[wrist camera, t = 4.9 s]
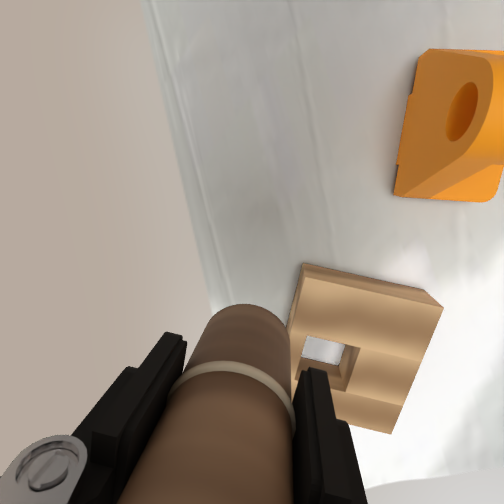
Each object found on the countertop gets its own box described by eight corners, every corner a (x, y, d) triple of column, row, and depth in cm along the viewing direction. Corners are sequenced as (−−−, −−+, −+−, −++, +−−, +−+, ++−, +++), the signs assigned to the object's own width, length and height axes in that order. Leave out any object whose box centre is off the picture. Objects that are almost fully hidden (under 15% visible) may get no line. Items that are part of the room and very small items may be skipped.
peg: (209, 292, 12) (-87, 764, 3) (303, 314, 12) (370, 916, 2) (194, 371, 13) (-51, 915, 4) (280, 392, 13) (264, 1025, 3)
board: (302, 263, 30) (305, 276, 27) (423, 289, 30) (443, 307, 26) (273, 378, 34) (271, 405, 31) (379, 404, 34) (391, 434, 30)
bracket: (474, 199, 27) (610, 223, 16) (390, 194, 28) (462, 212, 16) (509, 63, 24) (707, -29, 13) (414, 60, 25) (523, -30, 13)
